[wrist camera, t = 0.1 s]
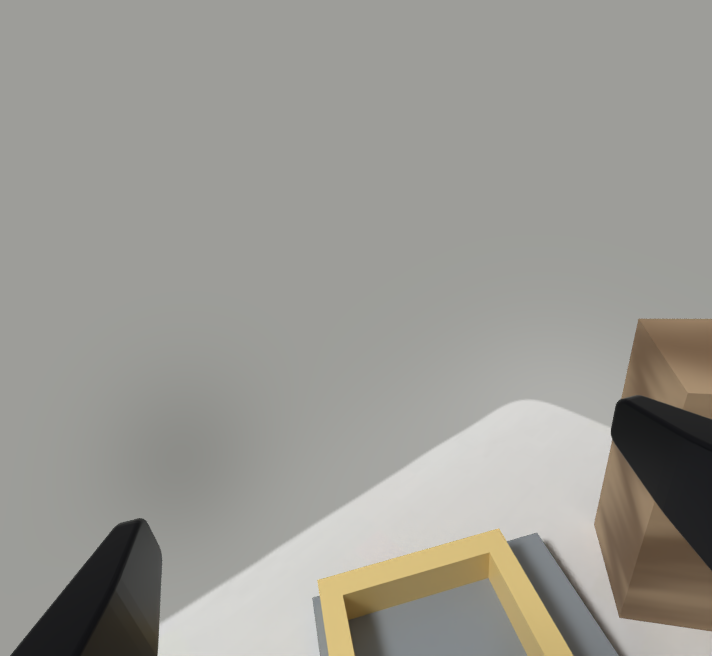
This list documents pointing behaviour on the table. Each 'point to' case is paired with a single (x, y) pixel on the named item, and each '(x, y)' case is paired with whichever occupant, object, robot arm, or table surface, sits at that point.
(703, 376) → the walnut column
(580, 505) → the table surface
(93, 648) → the robot arm
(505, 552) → the base board
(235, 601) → the table surface
